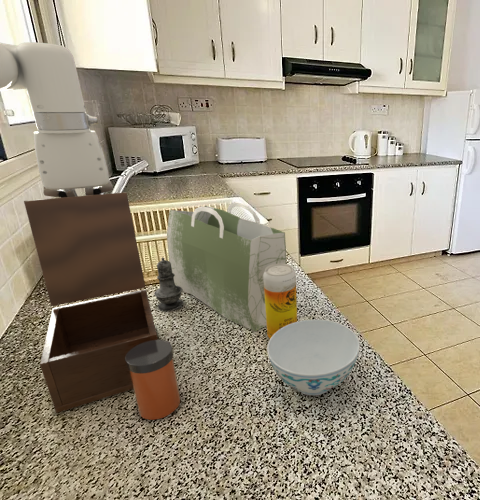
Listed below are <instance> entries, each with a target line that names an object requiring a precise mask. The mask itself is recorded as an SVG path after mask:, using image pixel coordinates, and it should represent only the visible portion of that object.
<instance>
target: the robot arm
mask: <svg viewBox="0 0 480 500" xmlns="http://www.w3.org/2000/svg"><path fill="white" fill-rule="evenodd" d="M16 90H26V94H27V96H28V101H29V105H30V108H31V111H32V115H33V118H34V122H35V125H36V126H35V127H36V129H37V131H33V145H34V153H35V159H36V165H37V168H38V173H39V177H40V180H41V183H42V185H43V195H44V196H45V197H52V198H63V197H75V196H78V193H77V191H76V189H77V190H78V189H84V191H85V192H84V193H85V194H84V196H87V195H99V194H106V193H109V192H112V191H113V190H114V186H113V183H112V182H111V180H110V173H109V168H108V165H107V160H106V157H105V153H104V150H103V147H102V144H101V141H100V139H99V136H98V134H97V132H96V130H91V127H92V126H94V125H99V122H98V117H97V116H92V115H89V114H87V109H86V106H85V105H86V104H85V101H84V97H83V92H82V88H81V83H80V79H79V75H78V70H77V66H76V61H75V57H74V55H73V52H72V51H71V50H70V49H69V48H67V47H66V46H63V45H60V44H55V43H47V42H34V41H30V42H29V41H28V42H20V43H19V44H17V45H16V44H10V43H3V42H0V92H5V91H16Z"/></svg>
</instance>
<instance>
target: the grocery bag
mask: <svg viewBox="0 0 480 500" xmlns="http://www.w3.org/2000/svg"><path fill="white" fill-rule="evenodd" d="M235 207H239V208H243V209H245V210H246V211H248V213H250V214H251V215H252V217H253V219H254V221H252V220H249V219H245V218H242V217H239V216H237V215H235V214H233V213H232V209H233V208H235ZM260 220H261V219H260V217H259V216H258V214H257V213H256V211H255V210H254V209H252V207H251V206H249V205H247V204H245V203H242V202H237V201H233V202H231V203H230V204H229V205H228V206H227V211H226V210H223V209H220V208H217V207H213V206H208V205H204V206H201V205H200V206H198V207H196V208H194V210H193V211H187V210H186V211H185V210H175V209H169V211H168V219H167V229H166V240H167V241H166V242H167V251H168V252H167V254H168V261H169V262H170V263H171V267H172V273H174V274H175V276H174V283H175V285H176V286H180V287H181V288H182V289H183V290H182V292H184V293H187V294H189V295H192V296H193V297H195V298H196V299H197V300H199V301H201V302H202V303H203V304H205V305H206V306H208V307H209V308H211V309H212V310H213V311H215V312H216V313H218V314H219V315H221V316H223V317H224V318H225V319H226V320H229V321H231V322H233V323H235V324H238V325H240V326H242V327H244V328H246V329H249V330H251V331H254V332H258V331H259V330H261V329H263V328H264V327H267V323H266V308H265V294H264V279H263V275H264V272H265V269H266V268H267V267H268V266H270V265H273V264H287V245H286V244H287V243H286V242H287V241H286V232H285V231H282V230H279V229H276V228H274V227H272V226H268V225H266V224H264V223H261V221H260Z"/></svg>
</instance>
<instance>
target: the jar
mask: <svg viewBox="0 0 480 500" xmlns="http://www.w3.org/2000/svg"><path fill="white" fill-rule="evenodd" d="M125 360H126V364H127V368H128V370H129V372H130V376H131V380H132V384H133V389H132V390H133V392H134V397H135V401H136V405H137V410H138V412H139V416H140V417H141V418H143V419H144V420H149V421H153V420H154V421H155V420H160V419H163V418H165V417H167V416H169V415H172V413H173V412H175V411H176V410H177V409H178V408H179V406H180V404H181V394H180V390H179V384H178V378H177V372H176V367H175V361H174V350H173V346H172V344H171V342H169V341H167V340H164V339H158V340H152V341H147V342H144V343H141V344H139V345H137V346H135V347H133V348H132V349H131V350H130V351H129V352H128V353H127V354H126V357H125Z"/></svg>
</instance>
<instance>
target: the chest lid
mask: <svg viewBox="0 0 480 500" xmlns="http://www.w3.org/2000/svg"><path fill="white" fill-rule="evenodd" d="M23 203H24V207H25V212H26V215H27V219H28V222H29V226H30V230H31V234H32V239H33V243H34V246H35V249H36V250H35V251H36V254H37V257H38V260H39V266H40V269H41V271H42V272H41V273H42V276H43V279H44V280H43V281H44V284H45V287H46V291H47V295H48V299H49V303H50V307H55V306H56V307H57V306H62V305H65V304H72V303H75V302H76V303H77V302H80V301H81V302H82V301H85V300H86V301H87V300H92V299H97V298H102V297H107V296H110V295H111V296H112V295H115V294H116V295H117V294H120V293H121V294H122V293H127V292H132V291H137V290H142V289H146V282H145V278H144V271H143V268H142V262H141V257H140V251H139V247H138V242H137V237H136V232H135V227H134V222H133V217H132V213H131V206H130V201H129V197H128V193H127V192H126V191H123V192H112V193H101V194H99V195H87V196H85V195H77V196H75V197H63V198H61V197H52V198H41V199H40V198H39V199H29V200H23Z"/></svg>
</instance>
